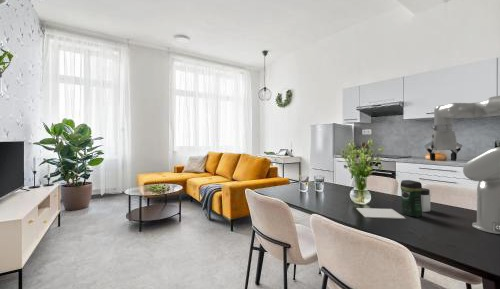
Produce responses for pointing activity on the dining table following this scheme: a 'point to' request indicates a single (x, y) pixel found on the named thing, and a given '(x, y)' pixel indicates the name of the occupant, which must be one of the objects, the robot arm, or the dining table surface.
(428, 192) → the jar
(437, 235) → the dining table surface
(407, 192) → the coffee jar
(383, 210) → the mat
